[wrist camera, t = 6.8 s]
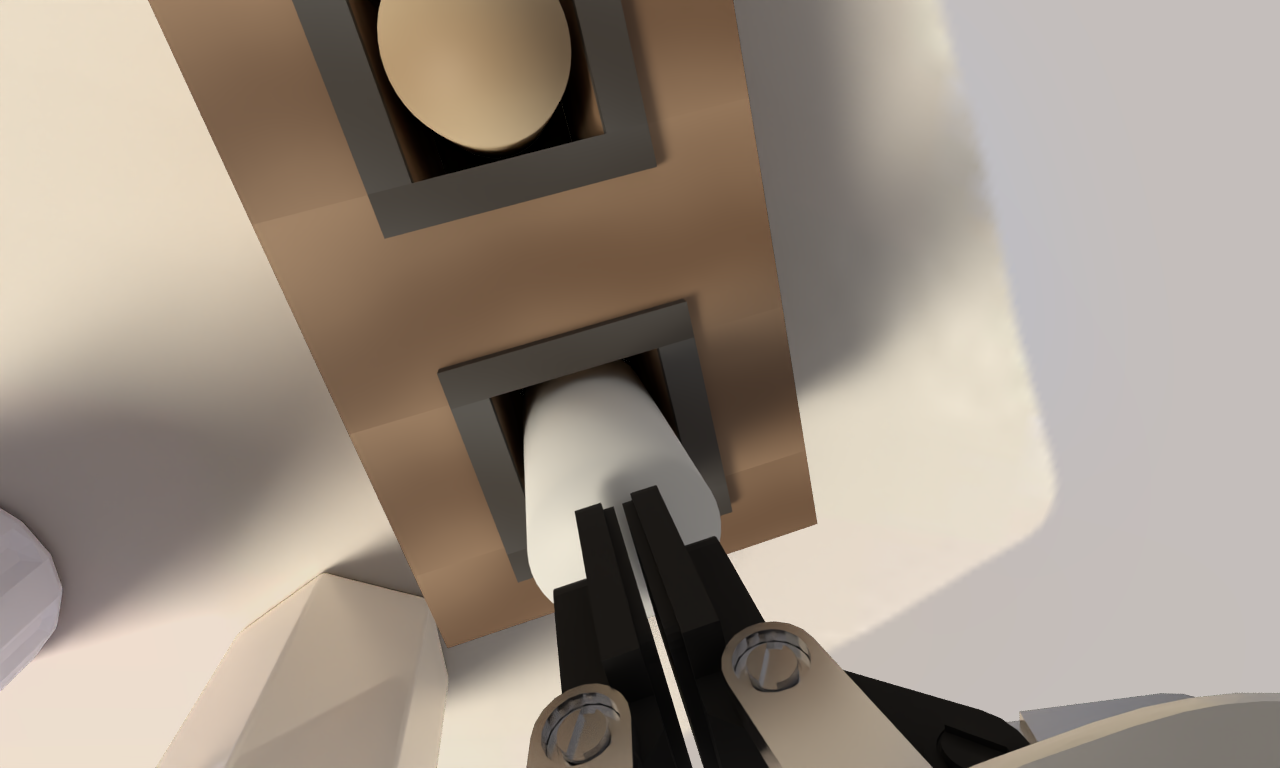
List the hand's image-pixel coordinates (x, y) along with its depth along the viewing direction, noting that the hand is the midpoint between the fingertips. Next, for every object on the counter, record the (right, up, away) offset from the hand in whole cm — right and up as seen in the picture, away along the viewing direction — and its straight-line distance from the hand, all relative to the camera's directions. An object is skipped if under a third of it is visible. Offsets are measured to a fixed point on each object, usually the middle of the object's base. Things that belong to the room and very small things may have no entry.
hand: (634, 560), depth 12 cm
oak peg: (-5, +13, +8) cm, 16 cm away
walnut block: (-4, +9, +11) cm, 14 cm away
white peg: (-2, +3, +8) cm, 9 cm away
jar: (-13, -8, +15) cm, 21 cm away
